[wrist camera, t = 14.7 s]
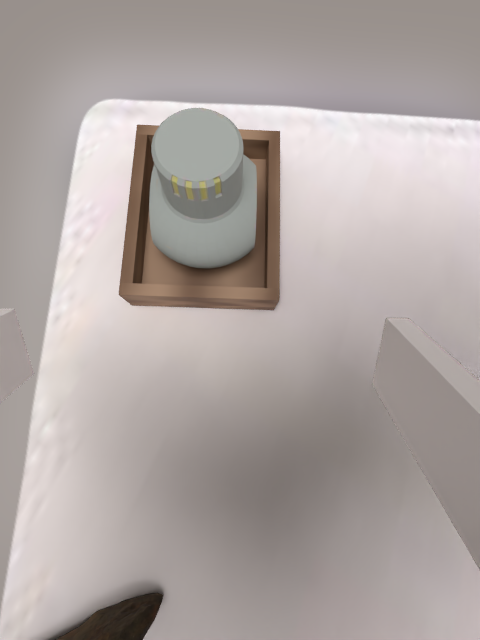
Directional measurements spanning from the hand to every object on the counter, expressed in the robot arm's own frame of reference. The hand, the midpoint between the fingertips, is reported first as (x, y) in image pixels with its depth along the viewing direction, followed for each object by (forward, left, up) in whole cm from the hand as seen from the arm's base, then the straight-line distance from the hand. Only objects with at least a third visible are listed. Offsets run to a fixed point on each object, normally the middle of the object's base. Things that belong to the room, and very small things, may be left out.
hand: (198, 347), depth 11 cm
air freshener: (+1, -13, -16) cm, 21 cm away
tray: (+2, -13, -17) cm, 22 cm away
